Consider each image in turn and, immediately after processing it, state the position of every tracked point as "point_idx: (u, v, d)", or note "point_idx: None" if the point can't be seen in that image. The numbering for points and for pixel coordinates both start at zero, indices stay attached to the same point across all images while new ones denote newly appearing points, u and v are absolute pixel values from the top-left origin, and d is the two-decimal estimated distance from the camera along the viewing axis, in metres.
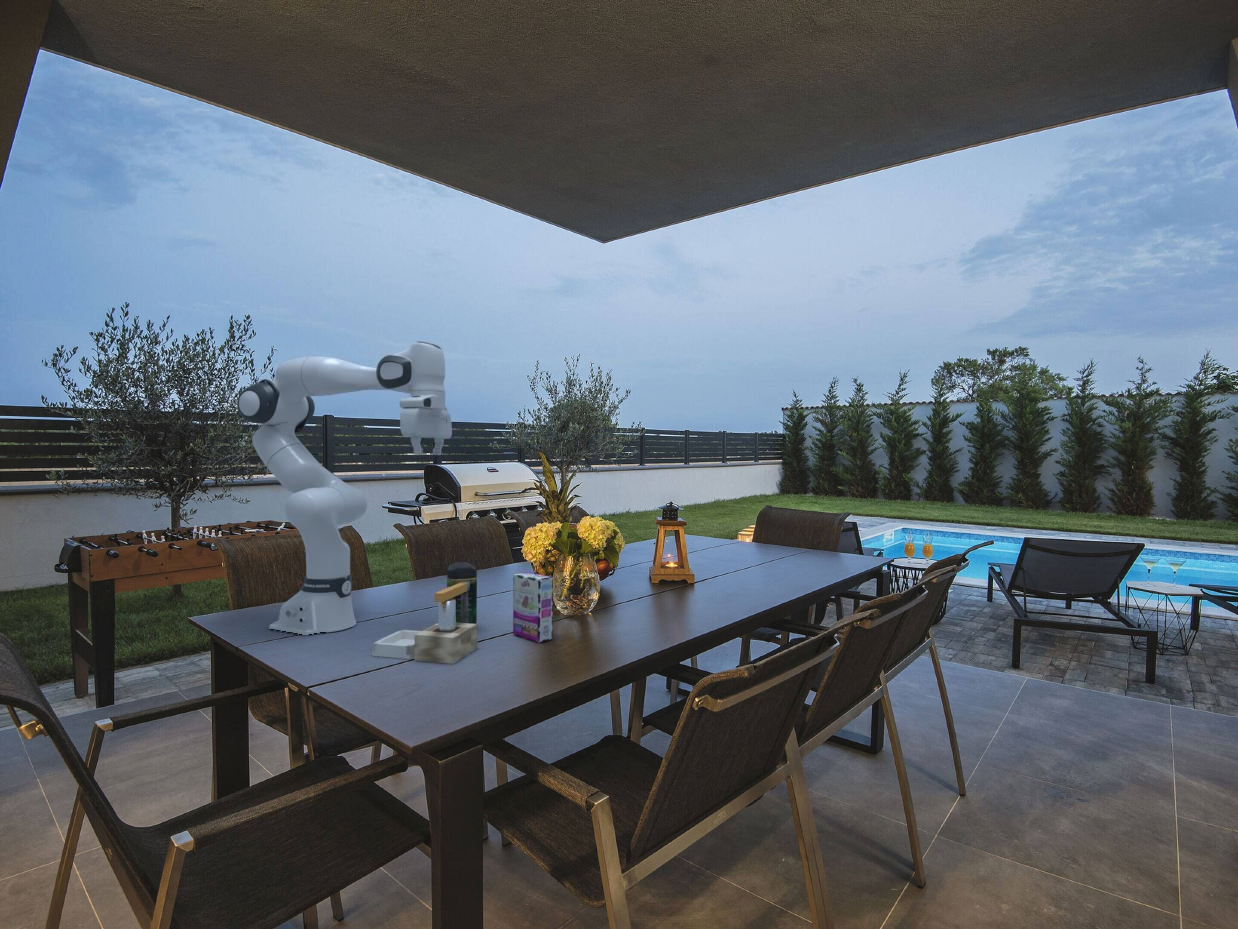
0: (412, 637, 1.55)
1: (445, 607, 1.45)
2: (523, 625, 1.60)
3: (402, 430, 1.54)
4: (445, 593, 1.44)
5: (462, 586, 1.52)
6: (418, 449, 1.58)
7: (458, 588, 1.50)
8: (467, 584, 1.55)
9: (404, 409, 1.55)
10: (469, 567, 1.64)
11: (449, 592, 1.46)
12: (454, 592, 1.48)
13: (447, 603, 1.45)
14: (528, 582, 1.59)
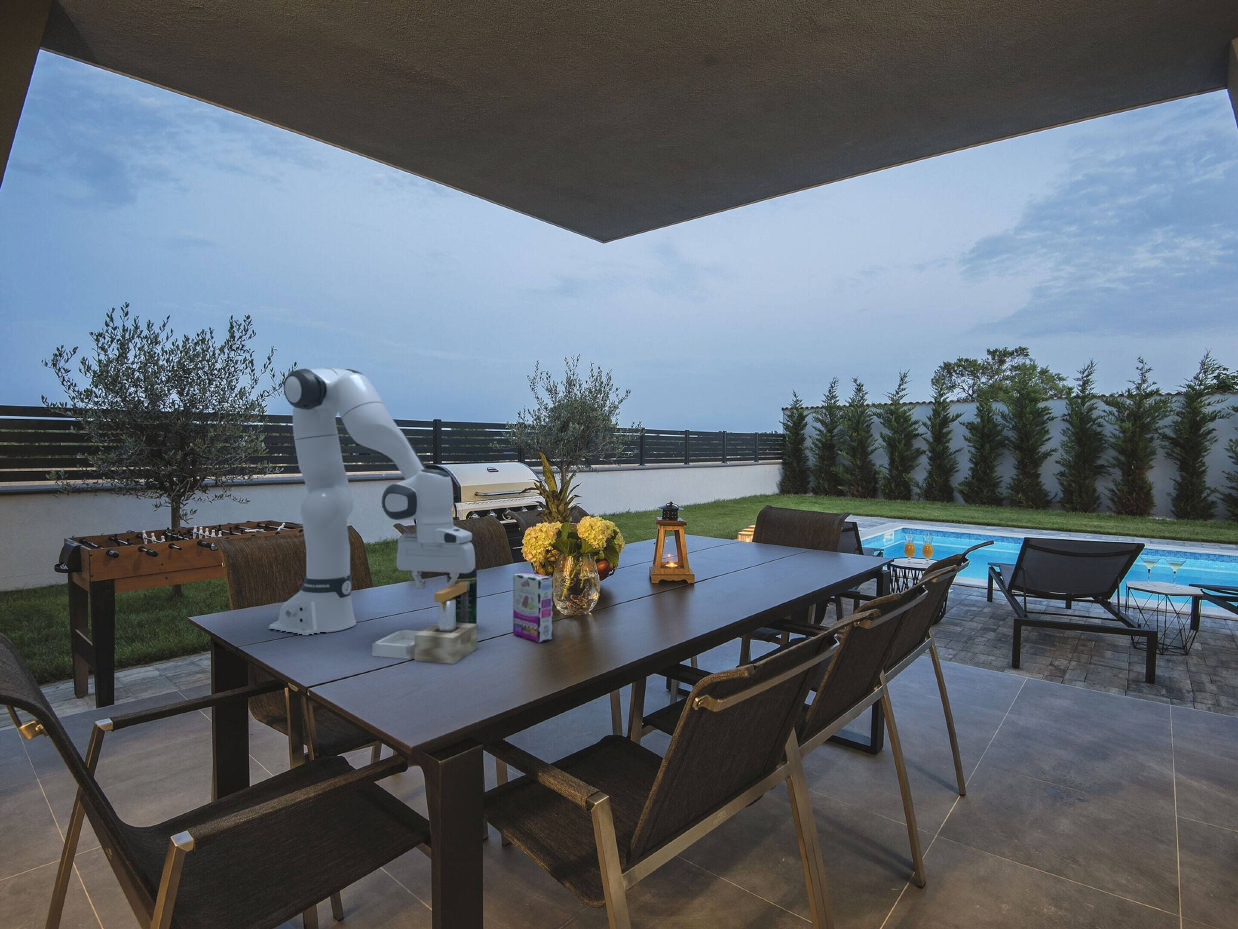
0: (412, 637, 1.55)
1: (445, 607, 1.45)
2: (523, 625, 1.60)
3: (469, 567, 1.49)
4: (445, 593, 1.44)
5: (462, 586, 1.52)
6: (453, 584, 1.52)
7: (458, 588, 1.50)
8: (467, 584, 1.55)
9: (464, 545, 1.49)
10: None
11: (449, 592, 1.46)
12: (454, 592, 1.48)
13: (447, 603, 1.45)
14: (528, 582, 1.59)
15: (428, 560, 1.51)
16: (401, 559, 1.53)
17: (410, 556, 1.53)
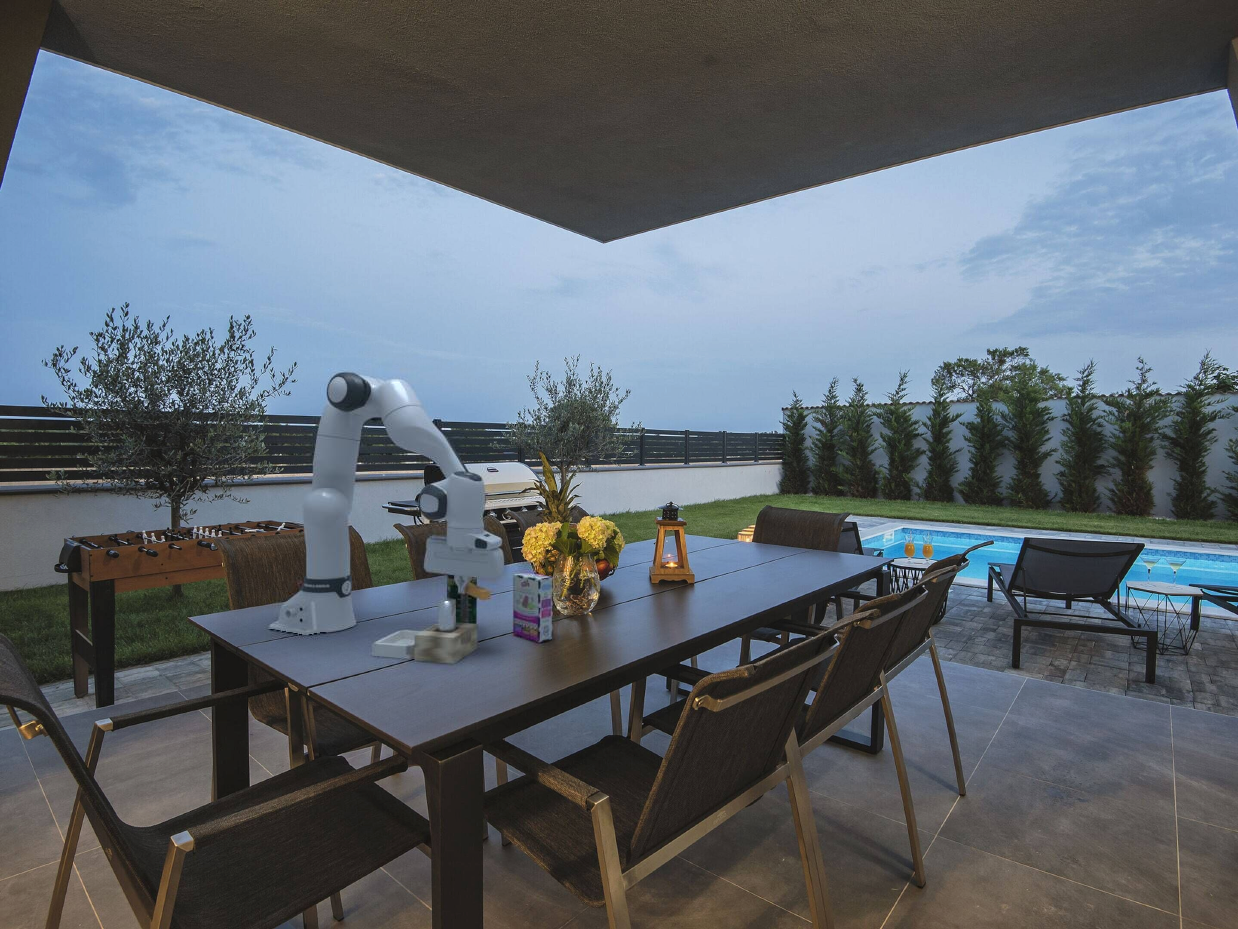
0: (412, 637, 1.55)
1: (445, 607, 1.45)
2: (523, 625, 1.60)
3: (499, 574, 1.48)
4: None
5: None
6: (466, 587, 1.52)
7: None
8: None
9: (494, 551, 1.48)
10: None
11: None
12: None
13: (447, 603, 1.45)
14: (528, 582, 1.59)
15: (457, 564, 1.50)
16: (429, 561, 1.51)
17: (438, 558, 1.51)
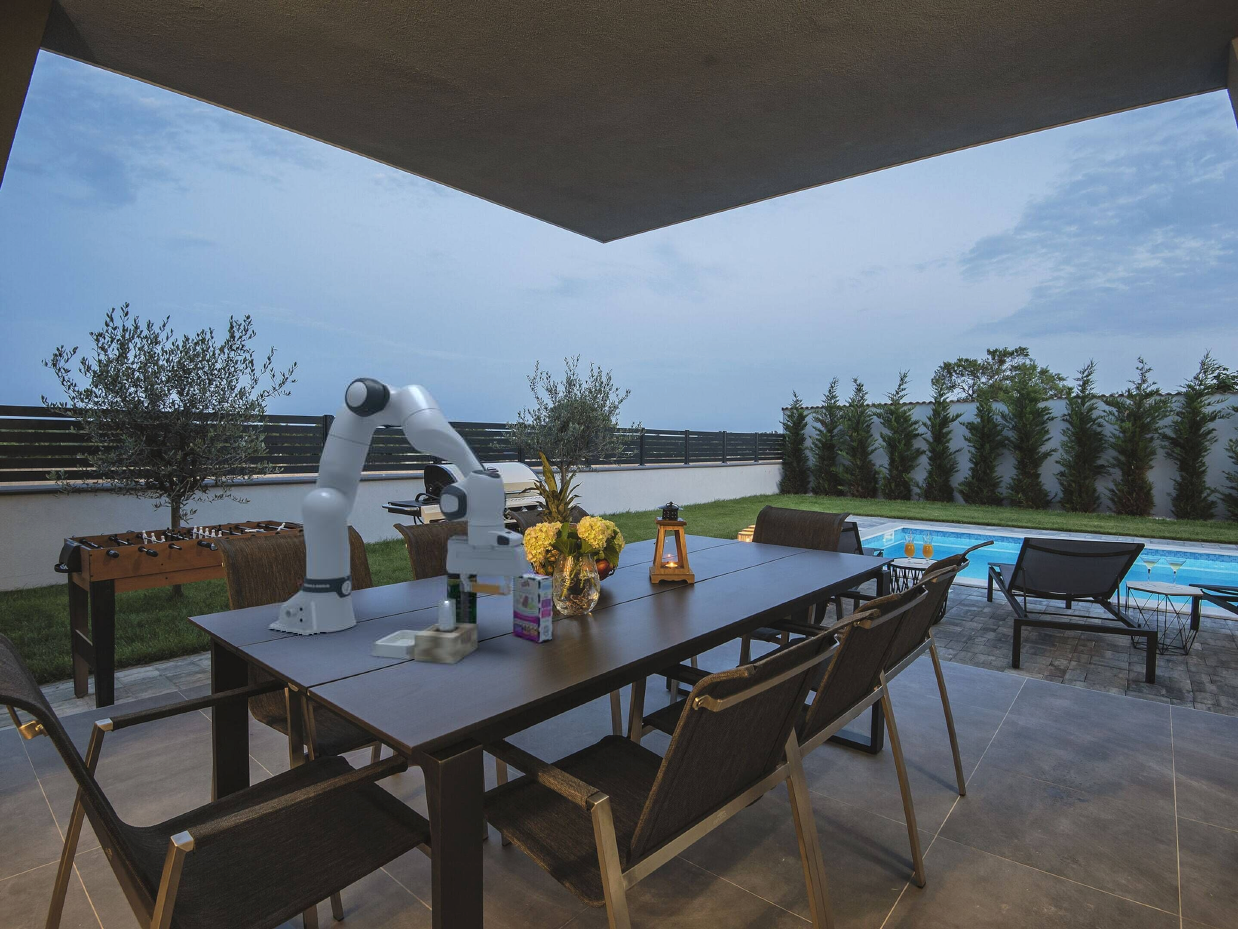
0: (412, 637, 1.55)
1: (445, 607, 1.45)
2: (523, 625, 1.60)
3: (522, 570, 1.47)
4: None
5: None
6: (507, 588, 1.49)
7: None
8: None
9: (517, 548, 1.47)
10: None
11: None
12: None
13: (447, 603, 1.45)
14: (528, 582, 1.59)
15: (480, 563, 1.48)
16: (451, 562, 1.50)
17: (461, 559, 1.50)
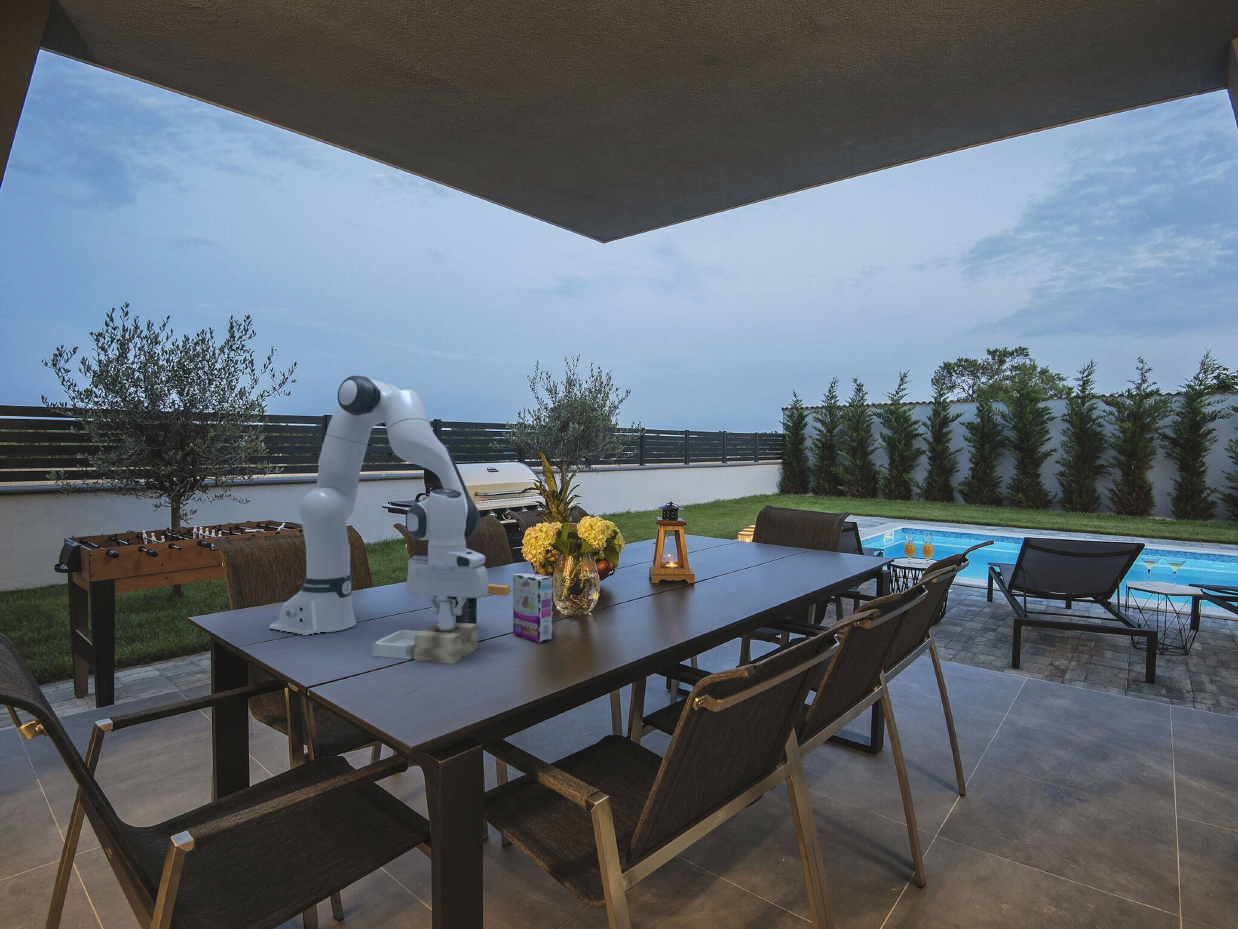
0: (412, 637, 1.55)
1: (445, 607, 1.45)
2: (523, 625, 1.60)
3: (483, 592, 1.44)
4: None
5: None
6: (460, 609, 1.47)
7: None
8: None
9: (477, 569, 1.44)
10: None
11: None
12: None
13: (447, 603, 1.45)
14: (528, 582, 1.59)
15: (440, 584, 1.45)
16: (411, 583, 1.47)
17: (421, 580, 1.47)
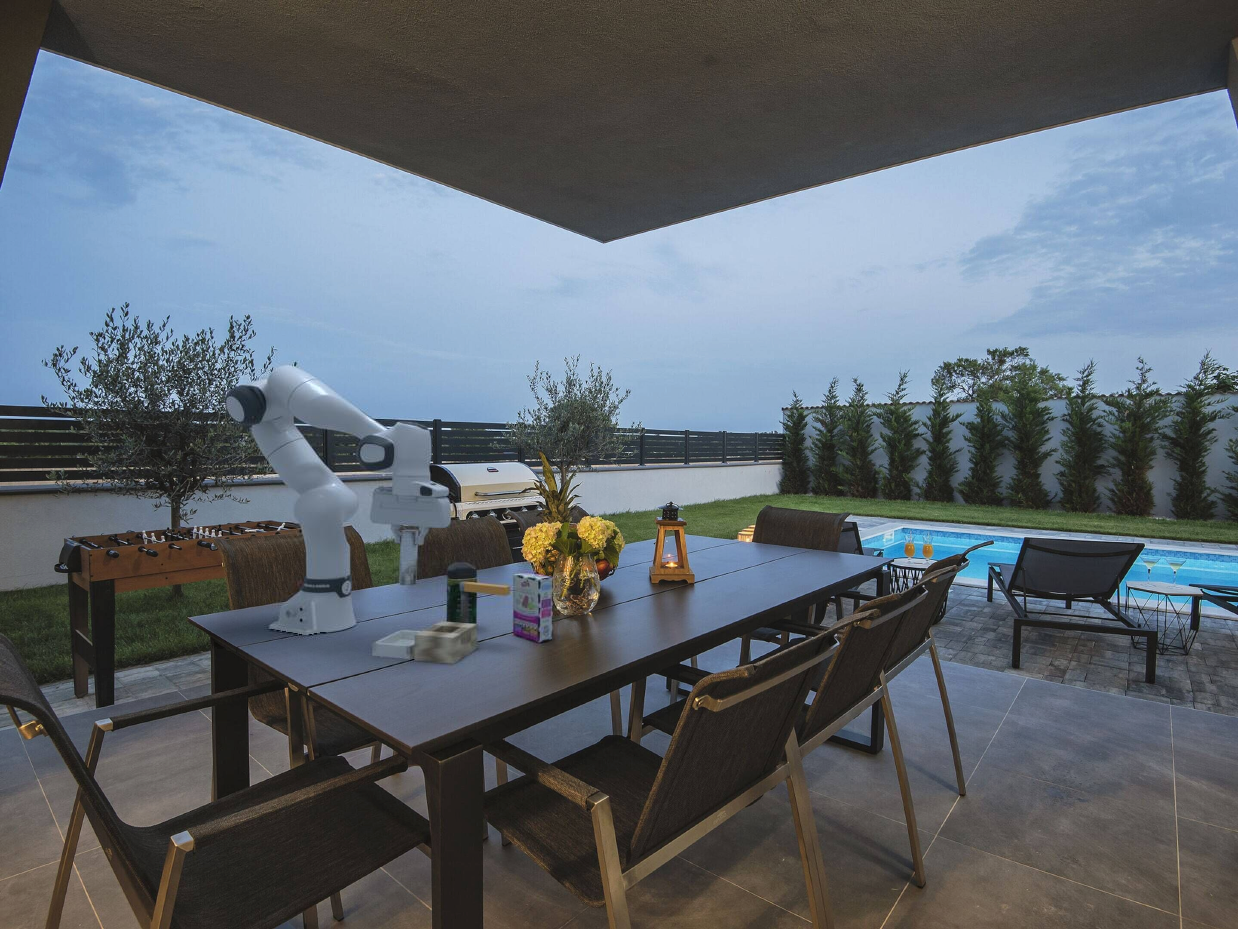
0: (412, 637, 1.55)
1: (407, 537, 1.48)
2: (523, 625, 1.60)
3: (445, 522, 1.47)
4: None
5: None
6: (422, 539, 1.50)
7: None
8: None
9: (440, 499, 1.47)
10: (469, 567, 1.64)
11: None
12: None
13: (409, 533, 1.48)
14: (528, 582, 1.59)
15: (403, 514, 1.49)
16: (375, 512, 1.50)
17: (384, 509, 1.50)
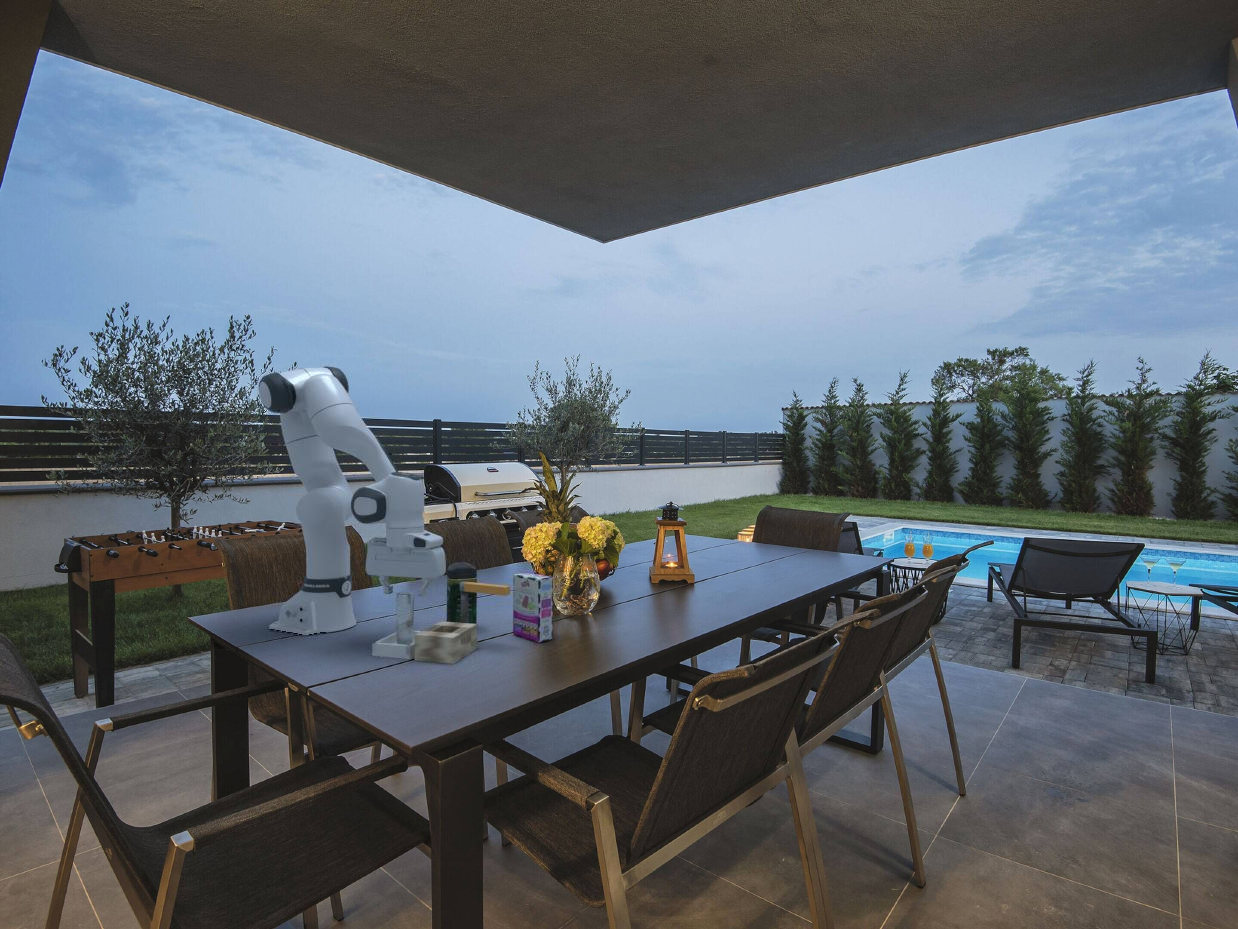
0: None
1: (402, 600, 1.48)
2: (523, 625, 1.60)
3: (439, 572, 1.47)
4: None
5: None
6: (426, 590, 1.49)
7: None
8: None
9: (434, 550, 1.47)
10: (469, 567, 1.64)
11: None
12: None
13: (405, 596, 1.48)
14: (528, 582, 1.59)
15: (398, 565, 1.48)
16: (370, 564, 1.50)
17: (379, 561, 1.50)
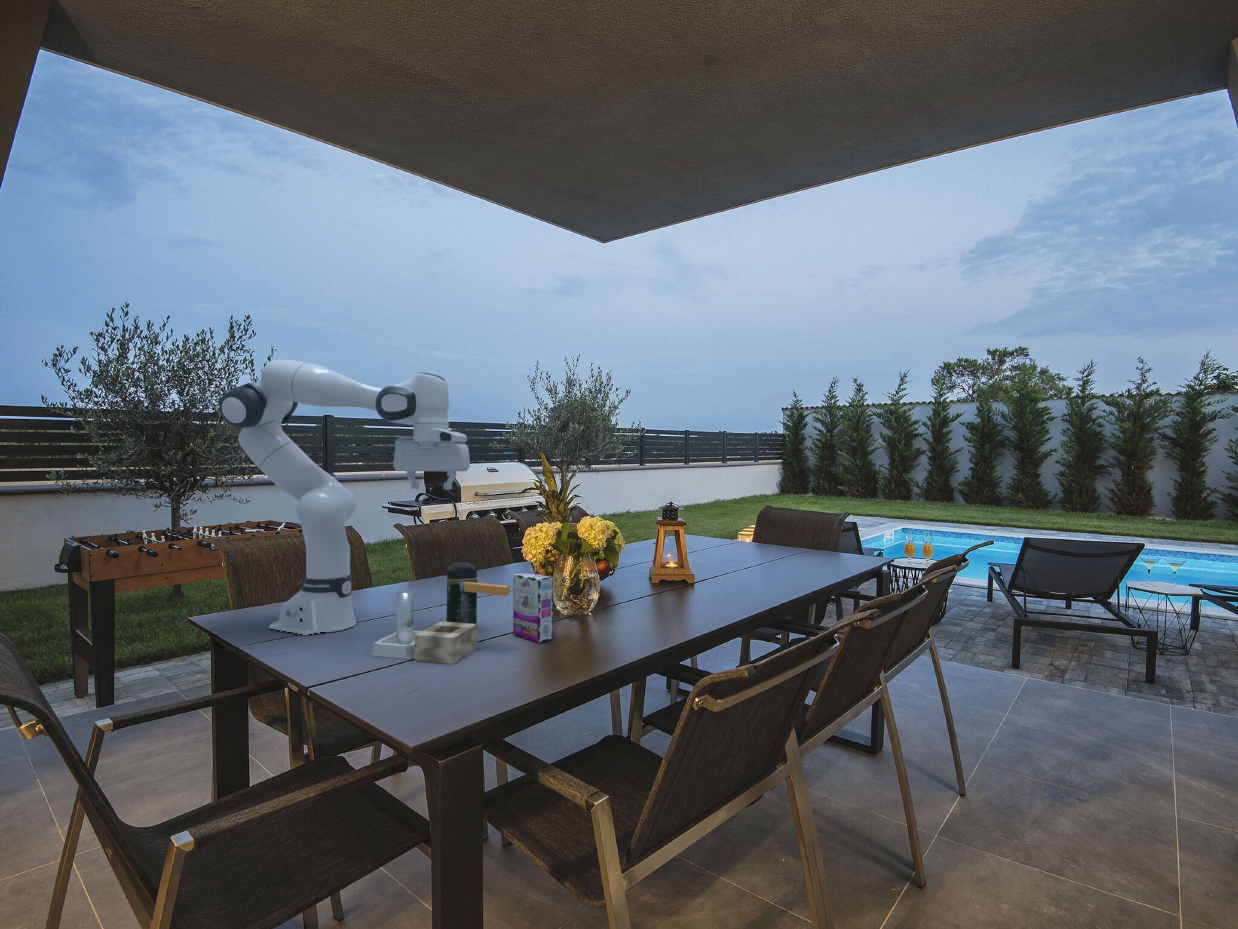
0: None
1: (402, 599, 1.48)
2: (523, 625, 1.60)
3: (464, 465, 1.55)
4: None
5: None
6: (451, 484, 1.58)
7: None
8: None
9: (459, 444, 1.55)
10: (469, 567, 1.64)
11: None
12: None
13: (404, 595, 1.48)
14: (528, 582, 1.59)
15: (424, 460, 1.57)
16: (398, 460, 1.59)
17: (407, 456, 1.58)
